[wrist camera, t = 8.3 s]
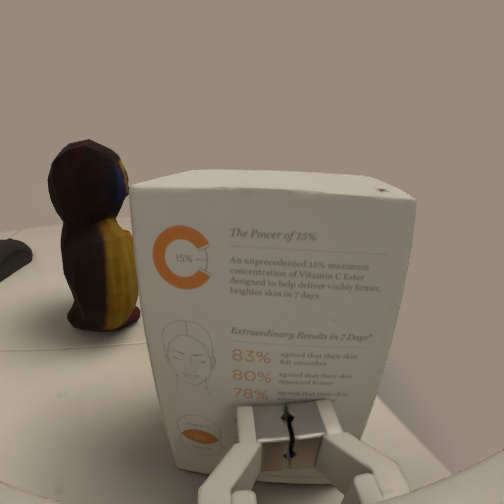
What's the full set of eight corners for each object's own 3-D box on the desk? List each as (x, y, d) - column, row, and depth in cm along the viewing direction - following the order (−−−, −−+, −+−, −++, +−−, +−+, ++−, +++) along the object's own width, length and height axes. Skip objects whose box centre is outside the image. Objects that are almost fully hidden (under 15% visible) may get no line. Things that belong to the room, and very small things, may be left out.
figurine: (162, 341, 23) (147, 132, 18) (75, 361, 20) (38, 142, 15) (132, 291, 31) (121, 138, 26) (67, 304, 27) (47, 146, 23)
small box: (336, 400, 18) (371, 174, 13) (342, 486, 12) (424, 197, 7) (203, 389, 19) (192, 166, 14) (172, 469, 13) (122, 183, 8)
